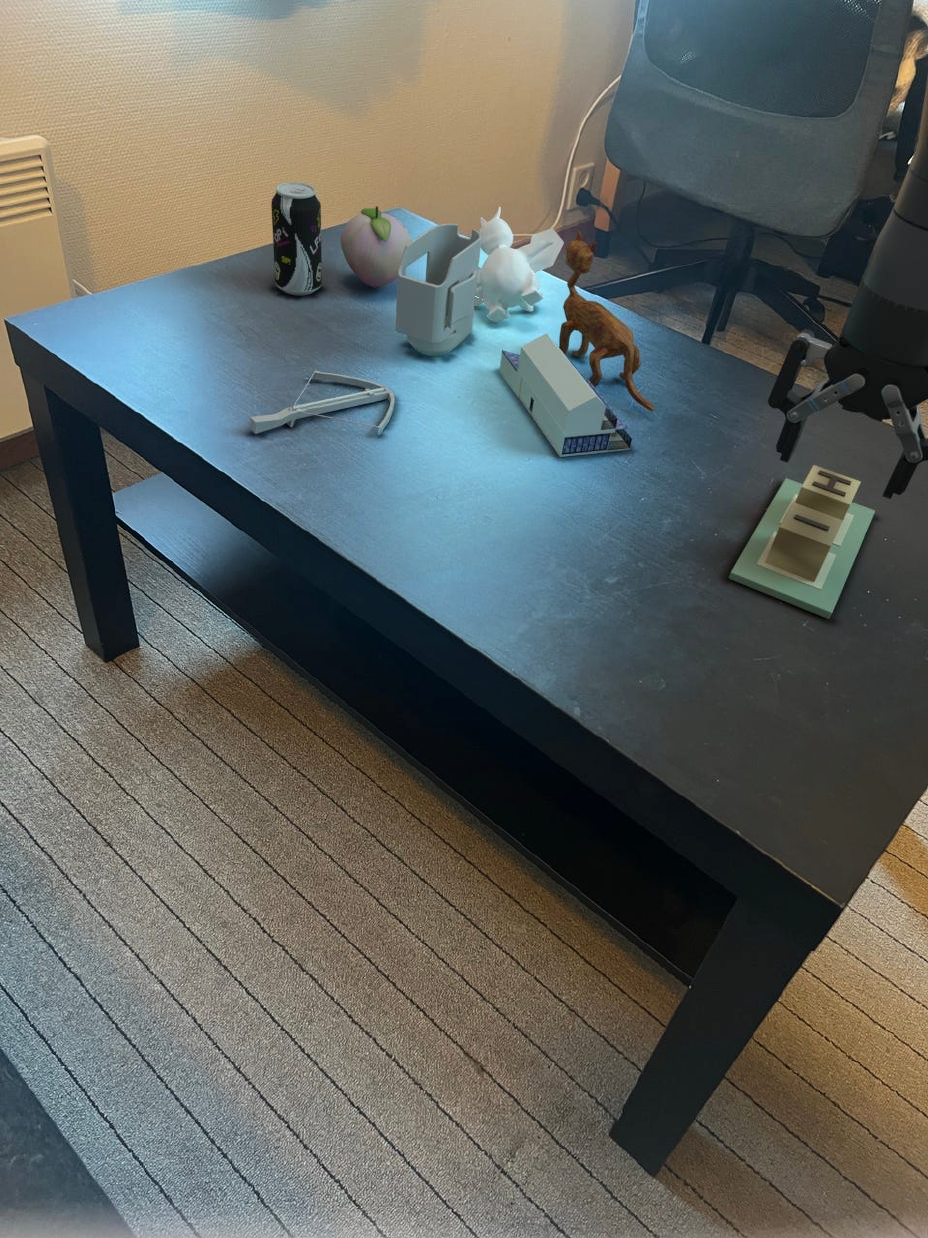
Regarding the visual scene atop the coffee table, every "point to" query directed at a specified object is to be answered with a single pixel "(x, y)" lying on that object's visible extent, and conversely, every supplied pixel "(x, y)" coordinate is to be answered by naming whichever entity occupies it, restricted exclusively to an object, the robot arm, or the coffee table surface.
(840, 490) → the light wooden cube
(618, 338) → the cat figurine
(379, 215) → the decorative fruit
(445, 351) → the cable organizer
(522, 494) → the coffee table surface
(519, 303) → the character figurine
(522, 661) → the coffee table surface
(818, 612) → the word board
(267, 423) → the crossbow
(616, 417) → the building
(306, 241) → the beverage can
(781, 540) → the tan cube
